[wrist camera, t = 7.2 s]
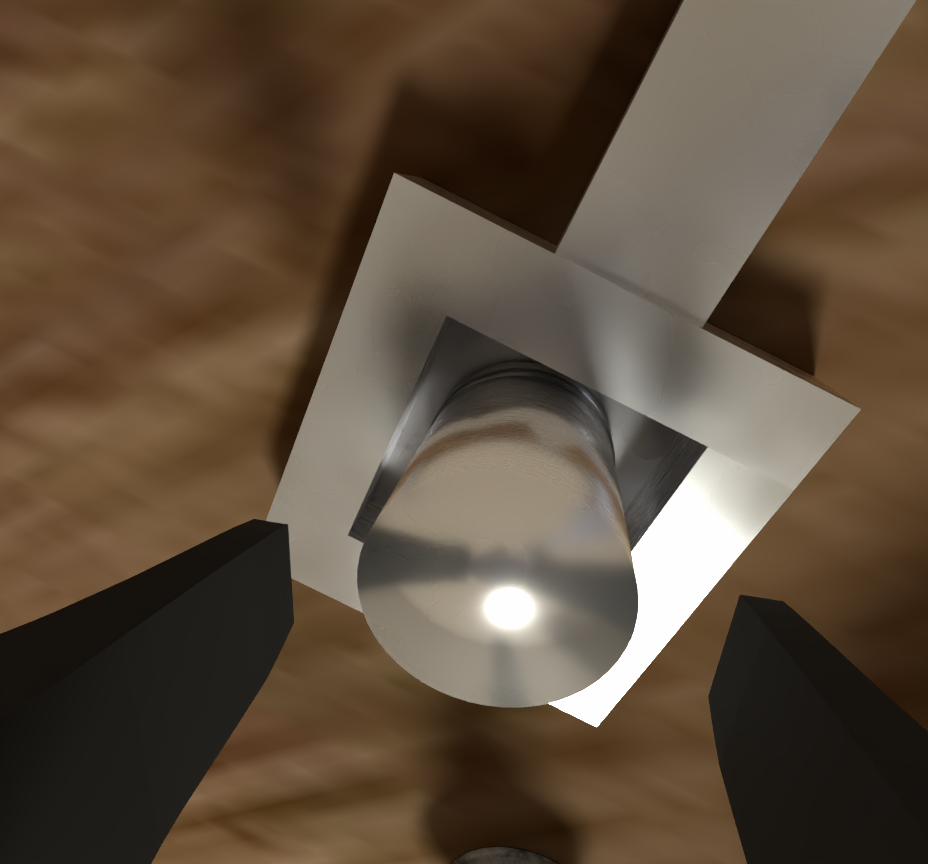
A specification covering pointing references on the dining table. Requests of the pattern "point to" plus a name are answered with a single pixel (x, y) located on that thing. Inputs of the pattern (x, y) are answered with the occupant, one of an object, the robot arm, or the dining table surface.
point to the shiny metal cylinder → (505, 545)
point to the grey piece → (607, 314)
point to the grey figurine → (502, 857)
